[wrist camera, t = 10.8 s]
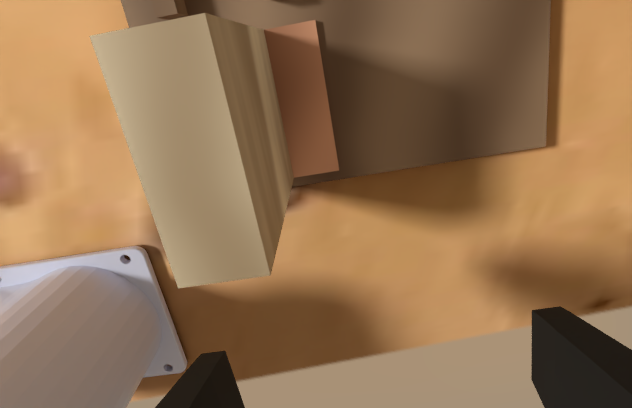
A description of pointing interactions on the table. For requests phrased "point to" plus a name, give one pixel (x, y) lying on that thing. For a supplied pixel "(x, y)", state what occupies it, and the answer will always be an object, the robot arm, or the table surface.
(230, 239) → the tan wooden block
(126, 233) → the table surface
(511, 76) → the walnut rack
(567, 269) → the table surface
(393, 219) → the table surface
